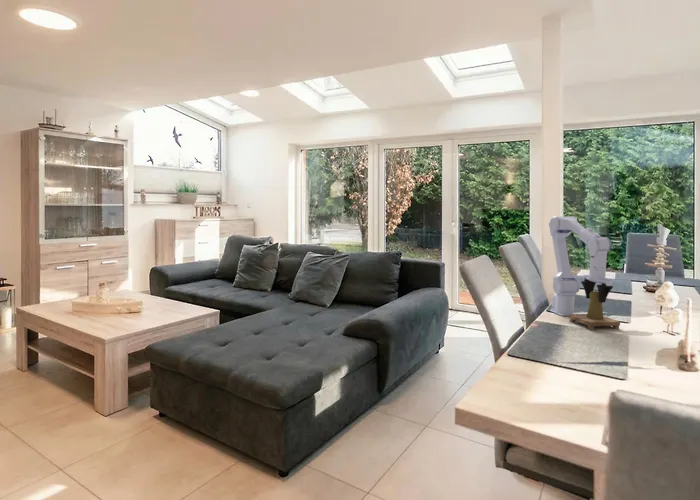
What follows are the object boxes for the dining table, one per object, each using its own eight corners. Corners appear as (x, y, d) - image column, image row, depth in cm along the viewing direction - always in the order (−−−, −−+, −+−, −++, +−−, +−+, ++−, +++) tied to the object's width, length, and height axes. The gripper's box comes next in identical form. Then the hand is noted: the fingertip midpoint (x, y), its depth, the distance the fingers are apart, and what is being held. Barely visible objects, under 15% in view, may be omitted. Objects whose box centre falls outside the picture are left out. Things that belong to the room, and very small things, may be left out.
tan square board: (569, 321, 188) (569, 314, 188) (596, 320, 191) (597, 313, 190) (590, 330, 176) (590, 322, 175) (619, 329, 178) (620, 321, 177)
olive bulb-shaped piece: (588, 319, 181) (590, 292, 180) (585, 315, 187) (586, 289, 186) (605, 320, 179) (607, 293, 178) (601, 316, 185) (603, 290, 184)
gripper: (577, 264, 187) (574, 296, 189) (601, 269, 173) (599, 304, 174) (592, 264, 188) (590, 296, 190) (617, 269, 174) (615, 304, 175)
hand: (595, 300), depth 182 cm, fingers open, 7 cm apart
